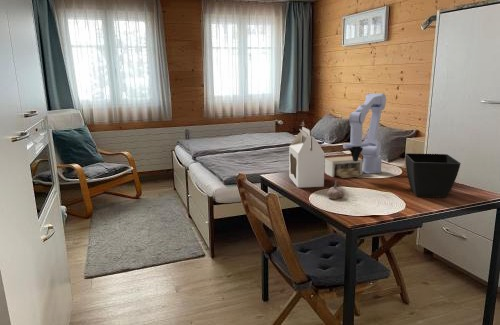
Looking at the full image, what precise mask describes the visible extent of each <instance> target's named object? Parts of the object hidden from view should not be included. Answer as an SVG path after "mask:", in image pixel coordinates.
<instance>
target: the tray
mask: <svg viewBox="0 0 500 325" xmlns="http://www.w3.org/2000/svg"><path fill="white" fill-rule="evenodd" d="M335 176H336V177H339V178H342V179H344V178H345V179H347V178H355V177H356V178H357V177H358V178H359V177H360V174H359V171H356V168H355V167H353V166H352V164H347V166H342V167H341V165H336V167H334V177H335Z"/></svg>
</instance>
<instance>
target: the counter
mask: <svg viewBox="0 0 500 325" xmlns="http://www.w3.org/2000/svg"><path fill="white" fill-rule="evenodd" d="M347 164H352V166H353V167H355V168H356V171H359V176H361V175H363V172H362V170H363V158H360V157H359V158H358V161H353V158H352V155H350V156H349V155H348V156H334V157H324V174H326V175H327V176H330V177H331V178H335V175H334V167H336V165H341V167H342V166H347Z"/></svg>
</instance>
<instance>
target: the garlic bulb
mask: <svg viewBox="0 0 500 325" xmlns="http://www.w3.org/2000/svg"><path fill="white" fill-rule="evenodd" d="M337 185H338V180H335V182H334V186H332V187H330V188H328V191H327V192H326V197H327V198H329V199H331V200H337V199H340V198H343V196H344V194H345V192H344V190H343V189H341V188H339V187H338V186H337Z"/></svg>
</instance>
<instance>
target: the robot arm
mask: <svg viewBox="0 0 500 325" xmlns="http://www.w3.org/2000/svg"><path fill="white" fill-rule="evenodd" d="M364 98H365V99H364V100H365V101H364V103H363V104H359V106H358V107H357V108H356V109H355V111H352V112H350V114H349V117H348V121H349V126H350V139H349V140H350V141H349V143H344V144H343V145H342V148H343V149H348V150H349V151H350V154H351V156H352V158H353V161H358V158H360V155H362V157H363V158H362V159H363V164H362V173H365V174H367V175H369V174H379V173H382V161H383V160H382V158H381V156H380V155H381V149H382V148H381V147H382V146H381V144H382V143H381V142H380V141H378V140H377V138H378V132H379V126H380V122H381V116H382V115H381V114H382V111H384V110H385V108H386V104H387V96H386V94H385V93H367V94H366V95H365V97H364ZM370 110H371V116H370V122H369V129H368V133H367V138H366V139H364V140H363V124H364V123H365V120H366V116H367V115H368V114H369V112H370Z"/></svg>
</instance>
